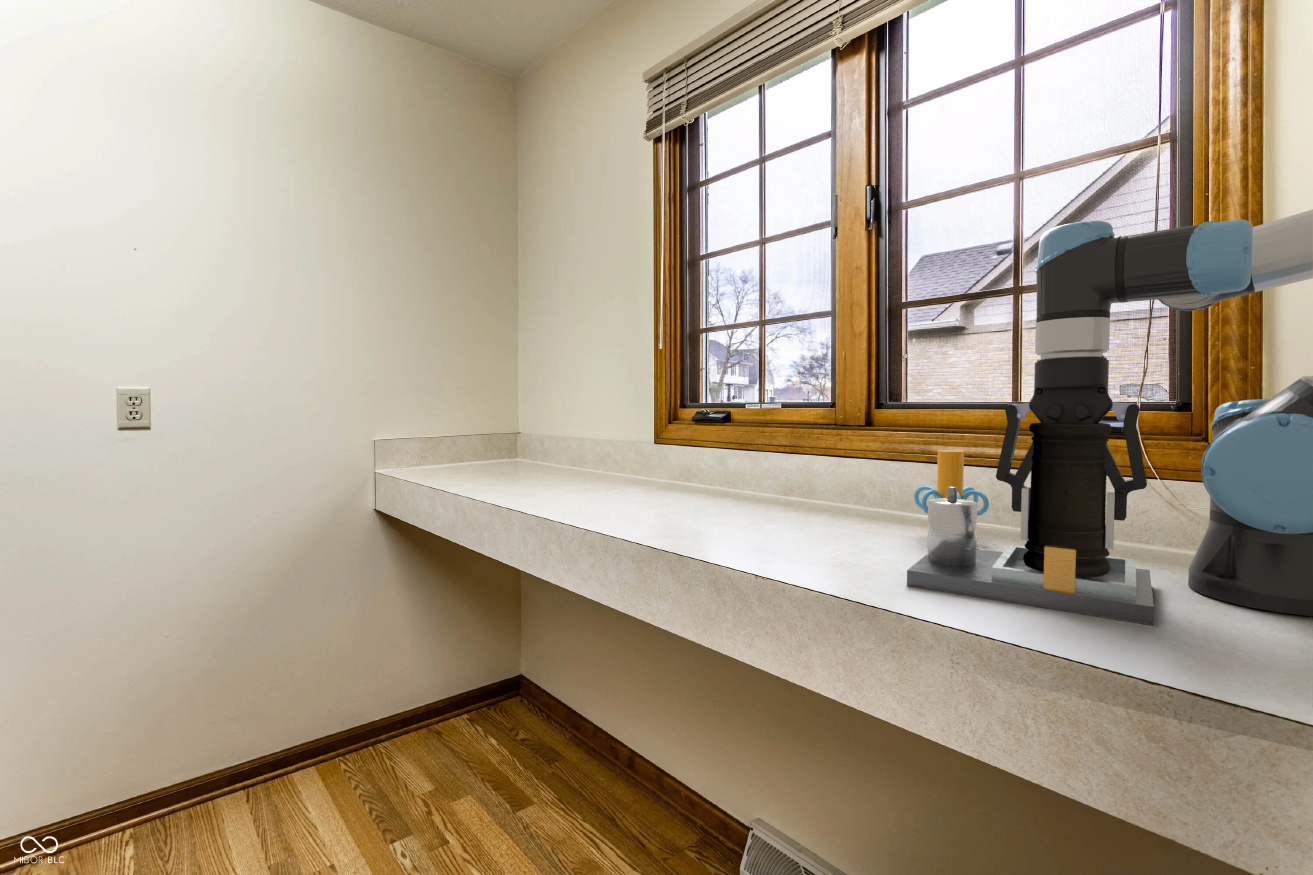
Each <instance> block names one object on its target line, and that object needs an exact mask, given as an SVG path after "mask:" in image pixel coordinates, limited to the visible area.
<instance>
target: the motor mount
mask: <svg viewBox="0 0 1313 875" xmlns="http://www.w3.org/2000/svg"><path fill="white" fill-rule="evenodd" d="M927 506H928V514H927V544H926V545H927V553H926V554H925V555H924V556H923V557H921V558H919V560H918V561H917V562H915V563H914V564H913V565H912V566H910V567H909V568H908V569H907V570H906V586H908V587H915V588H920V589H927V590H932V591H939V592H946V593H950V594H951V593H952V594H957V595H964V596H970V597H976V598H981V599H986V600H987V599H989V600H995V601H1001V602H1005V603H1013V604H1017V605H1018V604H1019V605H1025V606H1032V607H1037V608H1044V609H1049V610H1055V611H1062V612H1068V613H1075V614H1079V615H1086V616H1093V617H1098V618H1106V619H1109V620H1110V619H1112V620H1117V621H1124V622H1129V623H1136V624H1142V625H1147V626H1148V625H1149V626H1154V617H1155V616H1154V614H1155V604H1154V598H1153V596H1154V595H1153V587H1152V579H1151V572H1150V569H1145V568H1136V558H1127V557H1119V556H1111V555H1109V556H1107V557H1105V558H1106V559H1107V560H1108V561H1109V563H1110V570H1109V572H1108V574H1106V575H1103V576H1098V577H1076V548H1069V547H1060V546H1051V545H1045V549H1044V572H1041V571H1037V570H1034V569H1032V568H1029V567H1027V566H1026V565H1025V563H1024V560H1023V556H1024V554H1025V553H1026V552H1027V551H1029V550H1028V549H1027V548H1025V546H1022V545H1013V544H1008V546H1006V548H1005V549H1004V550H1003V551H996V550H987V549H979V548H977V528H978V527H977V526H978V523H977V518H978V516H977V511H978V503H976V502H974V501H973V500H970V499H967V500H964V499H957V487H948V493H947V498H937V499H934V498H931V499H927Z"/></svg>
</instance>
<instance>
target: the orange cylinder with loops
mask: <svg viewBox="0 0 1313 875" xmlns="http://www.w3.org/2000/svg"><path fill="white" fill-rule="evenodd" d="M964 457H965V450H959V449H938V450H937V466H936V468H937V469H936V470H937V473H936V474H937V475H936V476H937V477H936V478H937V480H936V487H937V488H936V489H935V488H934V487H932V486H930V485H921V486H919V487H918V488H916V490H915V492H914V493H913V494H914V495H913V499H914V502H915V504H916V506H917V507H918V508H920V509H922V510H923V512H924V513H926V514H927V515H928V498H929V497H930V496H931V495H932V496H933V499H937V498H947V493H948V487H957V499H964V500H968V498H970V497H971V496H972V497H973V498H972V501H974V502H976V503H977V504H978V503H979V497H980V498H981V499H982V502H983V506H982V508H980V509H979V510H977V517H978V516H982V515H983V514H985V513H986V512H987V511H988V509H989V507H990V502H989V498H988V497H987V495H986V494H985V493H984V492H983V491H980V490H978V489H977V490H976V489H975V488H974V487H972V486H969V485H967V486H965V487H964V468H965V467H964V466H965V465H964V464H965V458H964ZM924 491H926V492H925V493H924V494H923V495H922V498H921V500H920V497H919V496H920V494H921V492H924Z"/></svg>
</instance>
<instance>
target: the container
mask: <svg viewBox="0 0 1313 875" xmlns="http://www.w3.org/2000/svg"><path fill="white" fill-rule="evenodd" d="M1028 429H1029V432H1030V433H1031V434H1033V436H1031V437H1030V439H1031V440H1032V441H1031V444H1032V443H1034V448H1033V456H1032V457H1031V459H1032V461H1033V462H1032V468H1031V472H1030V486H1031V493H1030V518H1029V522H1028V525H1029V538H1028V540H1026V543H1025V544H1024V547H1025V548H1027V549H1028V550H1029V551H1027V552H1026V553H1025V554H1024V556H1023V560H1024V563H1025V565H1026V566H1027V567H1029V568H1032V569H1034V570H1037V571H1041V572H1044V549H1045V545H1051V546H1060V547H1069V548H1076V577H1098V576H1103V575H1106V574H1108V572H1109V570H1110V563H1109V561H1108V560H1107V559H1106V558H1105V557H1107V556H1110V551H1109V549H1106V548H1105V538H1106V505H1107V473H1106V471H1105V469H1104V462H1105V461H1106V460H1105V459H1104V445H1105V444H1106V445H1107V446H1108V442H1109V440H1110V439H1109V438H1108V437H1107V435H1109V434H1111V433H1112V431H1113V429H1112V426H1111V424H1110V423H1107V422H1099V423H1098V424H1045V423H1041V422H1031V423H1030V424H1029V427H1028ZM1033 441H1034V442H1033Z"/></svg>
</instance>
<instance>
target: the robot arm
mask: <svg viewBox="0 0 1313 875" xmlns="http://www.w3.org/2000/svg"><path fill="white" fill-rule="evenodd" d="M1038 242H1039V243H1038V255H1037V266H1036V268H1035V274H1036V318H1035V319H1036V320H1035V330H1034V331H1035V333H1034V334H1035V340H1034V343H1035V344H1034V346H1035V347H1034V349H1035V350H1034V353H1035V354H1036V355H1037V356H1040V359H1037V360H1036V362H1035V363H1034V377H1033V378H1034V385H1033V386H1034V387H1033V395H1032V397H1031V398H1030V400H1029V402H1025V403H1018V404H1013V403H1012V404H1011V403H1010V404H1007V405H1006V406H1005V408H1004V412H1005V417H1006V422H1007V424H1006V429H1005V431H1004V432H1005V433H1004V437H1003V441H1002V445H1001V450H1000V455H999V460H998V465H997V469H996V473H995V474H996V475H995V478H996V480H997V481H999V482H1003V483H1006V484H1008V485H1009V486H1010V487H1011V509H1012V511H1013V512H1015V513H1016V512H1018V513H1020V540H1022V541H1028V538H1029V525H1028V522H1029V518H1030V493H1031V485H1025V482H1026V481H1027V479H1028V477H1029V475H1030V474H1031V468H1032V462H1033V461H1032V459H1031V457H1032V456H1033V448H1034V443H1032V442H1031V444H1030V447H1029V448H1028V450H1027V452H1026V454H1025V456H1024V458H1023V460H1022V462H1021V463H1020V464H1019V467H1018V469H1017V471H1016V473H1012V472H1011V469H1012V465H1013V460H1014V457H1015V456H1014V455H1015V452H1016V446H1017V442H1018V438H1019V433H1020V430H1021V429H1020V428H1021V421H1023V420H1025V419H1026V418H1027V414H1028V412H1029V411H1030V412H1032V414H1033V415H1034V417H1036V418H1037V419H1038V421H1039V423H1045V424H1098V423H1101V421H1102V420H1103V419H1104V418H1105V417H1106V416H1107V414H1108V413H1109V412H1110V411H1112V412H1114V413H1115V415H1116V416H1115V417H1116V419H1117V420H1118V421H1119V422H1123V431H1124V437H1125V444H1126V448H1127V450H1126V451H1127V455H1128V460H1129V466H1130V471H1131V477H1132V478H1130V479H1125V478H1124V476H1123V474H1122V472H1121V470H1120V469H1119V466H1118V464H1117V461H1116V460H1115V458H1114V456H1113V454H1112V452H1111V450H1110V448H1109V446H1108V444H1107V445H1106V444H1105V445H1104V459H1105V460H1106V461H1105V462H1104V469H1105V471H1106V476H1107V477H1108V480H1109V481H1110V483H1111V485H1112V488H1113V489H1114V490H1106V511H1105V512H1106V513H1105V515H1106V521H1105V525H1106V538H1105V548H1106V549H1108V550H1113V549H1114V543H1115V542H1114V541H1115V540H1114V538H1115V537H1114V535H1115V534H1114V533H1115V521H1123V522H1124V521H1125V519H1126V518H1127V512H1128V511H1127V508H1128V506H1127V505H1128V503H1127V502H1128V495H1129V493H1132V492H1133V491H1139V490H1144V489H1146V488H1147V487H1148V482H1147V478H1146V477H1147V476H1146V470H1145V465H1144V460H1143V456H1142V455H1143V454H1142V451H1141V450H1142V449H1141V443H1140V438H1139V433H1138V427H1137V421H1138V418H1139V414H1140V411H1141V408H1140V405H1138V404H1137V403H1122V402H1114V401H1113V399H1112V398H1111V397H1110V395H1109V372H1110V370H1109V369H1110V368H1109V367H1110V366H1109V365H1110V360H1109V359H1108V358H1107V357H1105V355H1104V353H1107V352H1109V350H1110V337H1111V335H1110V333H1111V307H1112V304H1118V303H1119V304H1121V303H1122V304H1124V303H1129V302H1133V303H1134V302H1143V301H1145V302H1146V301H1156V300H1157V301H1159V302H1160V303H1161V304H1163V305H1164V306H1165V307H1168V308H1171V309H1174V310H1176V311H1181V312H1193V311H1197V310H1203V309H1206V308H1209V307H1211V306H1214V305H1215V304H1217V303H1219V302H1222V301H1226V300H1231V299H1235V298H1240V297H1242V296H1246V295H1250V294H1254V293H1257V292H1263V291H1265V290H1270V289H1273V288H1278V287H1282V286H1283V287H1284V286H1286V285H1290V284H1294V283H1300V282H1304V281H1308V280H1312V279H1313V209H1309V210H1306V211H1304V212H1299V213H1296V214H1292V215H1289V216H1286V217H1283V218H1279V219H1275V220H1272V221H1269V222H1266V223H1261V224H1259V225H1255V226H1253V224H1252V223H1251V222H1250V221H1248V220H1246V219H1231V220H1224V221H1204V222H1203V223H1200V224H1194V225H1193V224H1192V225H1187V226H1186V225H1185V226H1182V227H1181V226H1180V227H1174V228H1169V229H1163V230H1157V231H1155V230H1154V231H1151V232H1143V233H1138V234H1131V235H1123V236H1121V235H1117V236H1116V235H1115V233H1114V229H1113V225H1112V224H1111V223H1110V222H1108V221H1102V220H1088V221H1083V222H1082V221H1077V222H1071V223H1066V224H1061V225H1059V226H1055V227H1052V228H1050V229H1049V230H1046V231H1045V232H1044V233H1043V234H1042V235H1041V237H1040V240H1039V241H1038ZM1213 415H1214V416H1213V421H1212V422H1211V426H1210V428H1211V432H1212V434H1213V435H1212V440H1211V443H1210V444H1208V445H1207V447H1206V449H1205V451H1204V452H1203V456H1202V459H1201V465H1200V468H1201V470H1200V474H1201V479H1202V482H1203V483H1202V484H1203V486H1204V488H1205V490H1206V492H1207V493H1208V496H1209V520H1208V525H1207V526H1208V528H1207V530H1206V531H1205V534H1204V536H1203V537H1202V540H1201V541H1200V544H1199V546H1198V548H1197V549H1196V551H1195V554H1194V556H1193V559H1192V560H1191V563H1190V564H1189V568H1188V575H1187V576H1188V577H1187V585H1188V587H1190V588H1191V590H1193V591H1196V592H1198V593H1199V594H1202V595H1204V596H1207V597H1208V598H1209V597H1210V598H1213V599H1216V600H1219V601H1222V602H1227V603H1231V604H1233V605H1239V606H1243V607H1247V608H1252V609H1258V610H1262V611H1269V612H1276V613H1282V614H1290V615H1296V616H1305V617H1306V616H1309V617H1313V375H1309V376H1308V375H1304V376H1301V377H1300V378H1298V379H1297V380H1296V381H1295V382H1293V383H1291V384H1290V385H1288V386H1286V388H1284V389H1282V390H1281V391H1279V392H1278V393H1276V394H1275V395H1274V396H1272V397H1271V398H1264V399H1261V398H1260V399H1245V400H1240V401H1237V400H1235V401H1229V402H1228V401H1227V402H1225V403H1222V404H1221V405H1218V407H1217V408H1215V412H1214V414H1213ZM1032 441H1033V440H1032ZM1033 442H1034V441H1033Z"/></svg>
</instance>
